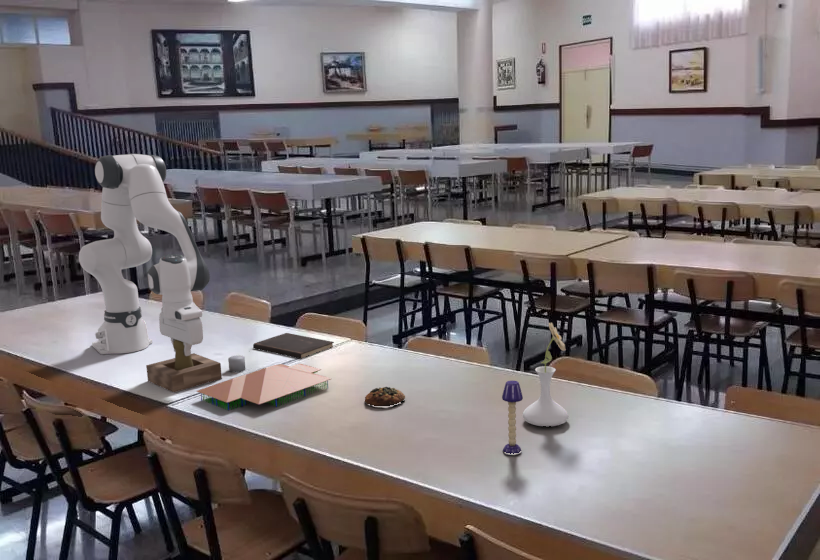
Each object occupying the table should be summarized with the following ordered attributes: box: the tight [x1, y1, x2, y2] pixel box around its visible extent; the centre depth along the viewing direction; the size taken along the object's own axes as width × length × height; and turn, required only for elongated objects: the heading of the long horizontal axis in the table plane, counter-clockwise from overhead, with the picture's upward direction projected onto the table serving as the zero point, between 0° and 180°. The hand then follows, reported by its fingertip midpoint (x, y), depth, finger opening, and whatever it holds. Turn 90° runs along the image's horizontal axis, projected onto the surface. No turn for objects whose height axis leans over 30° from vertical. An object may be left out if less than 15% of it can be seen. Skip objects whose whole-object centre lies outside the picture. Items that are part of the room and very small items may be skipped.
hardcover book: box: [252, 332, 335, 359], centre depth 268 cm, size 16×23×2 cm
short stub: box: [227, 354, 246, 373], centre depth 246 cm, size 5×5×4 cm
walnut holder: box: [146, 352, 223, 393], centre depth 237 cm, size 16×16×5 cm
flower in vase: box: [521, 322, 570, 428], centre depth 194 cm, size 13×11×25 cm
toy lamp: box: [501, 380, 523, 454], centre depth 177 cm, size 5×5×17 cm
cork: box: [172, 340, 193, 371], centre depth 236 cm, size 6×6×11 cm
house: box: [196, 363, 332, 411], centre depth 223 cm, size 23×33×8 cm
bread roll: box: [364, 386, 406, 406], centre depth 214 cm, size 11×11×5 cm
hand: (182, 353), depth 236 cm, fingers closed on cork, 4 cm apart
